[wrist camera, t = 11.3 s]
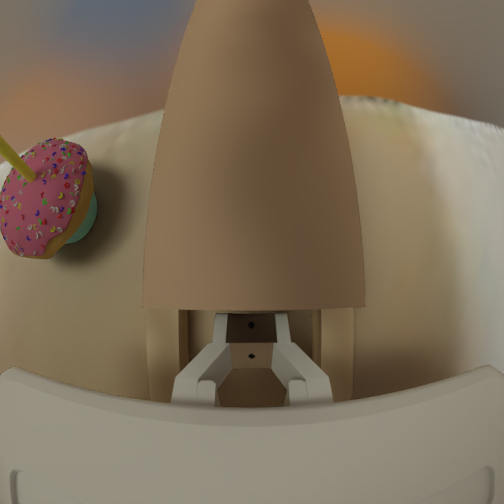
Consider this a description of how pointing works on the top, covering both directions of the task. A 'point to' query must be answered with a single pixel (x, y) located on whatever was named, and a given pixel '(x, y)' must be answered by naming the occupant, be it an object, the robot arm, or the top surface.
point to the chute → (177, 358)
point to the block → (253, 170)
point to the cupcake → (46, 198)
